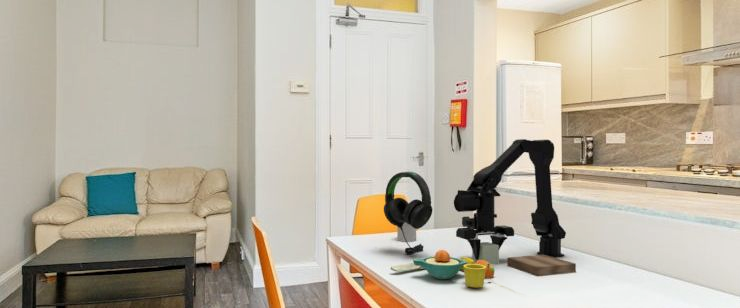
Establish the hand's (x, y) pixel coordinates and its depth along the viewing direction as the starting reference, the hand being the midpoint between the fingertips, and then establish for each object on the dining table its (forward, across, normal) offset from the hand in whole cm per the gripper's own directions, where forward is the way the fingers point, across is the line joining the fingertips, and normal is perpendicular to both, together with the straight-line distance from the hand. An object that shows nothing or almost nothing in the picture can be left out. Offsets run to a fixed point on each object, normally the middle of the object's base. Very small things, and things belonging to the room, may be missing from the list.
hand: (485, 258), depth 154 cm
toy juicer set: (+2, +19, +8) cm, 20 cm away
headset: (+1, +17, -20) cm, 26 cm away
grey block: (+2, +9, -41) cm, 42 cm away
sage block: (+1, 0, 0) cm, 1 cm away
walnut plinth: (+1, -11, +13) cm, 17 cm away
